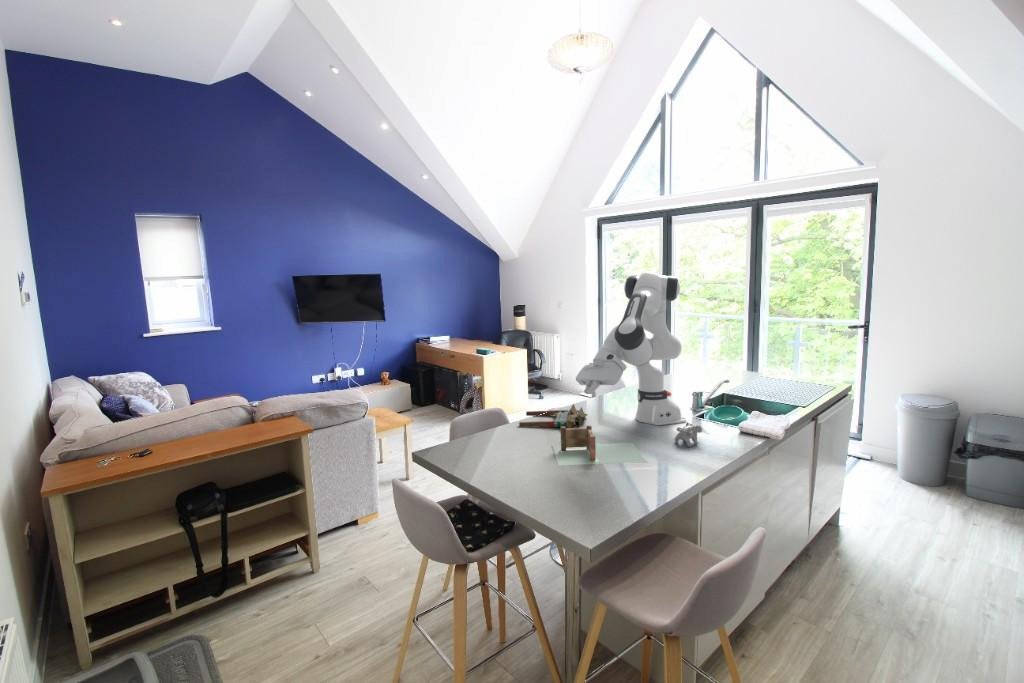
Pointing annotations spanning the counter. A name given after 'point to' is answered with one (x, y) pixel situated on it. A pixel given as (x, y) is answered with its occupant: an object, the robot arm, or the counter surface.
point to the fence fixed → (574, 437)
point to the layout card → (600, 455)
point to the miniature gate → (557, 418)
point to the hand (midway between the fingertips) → (587, 393)
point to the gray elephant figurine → (688, 433)
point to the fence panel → (591, 445)
